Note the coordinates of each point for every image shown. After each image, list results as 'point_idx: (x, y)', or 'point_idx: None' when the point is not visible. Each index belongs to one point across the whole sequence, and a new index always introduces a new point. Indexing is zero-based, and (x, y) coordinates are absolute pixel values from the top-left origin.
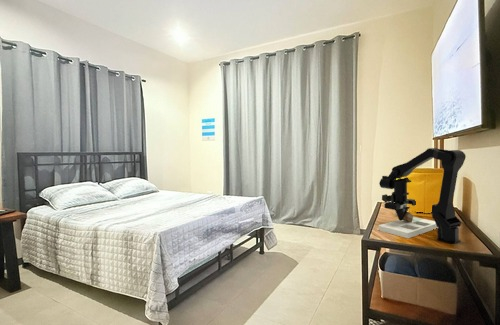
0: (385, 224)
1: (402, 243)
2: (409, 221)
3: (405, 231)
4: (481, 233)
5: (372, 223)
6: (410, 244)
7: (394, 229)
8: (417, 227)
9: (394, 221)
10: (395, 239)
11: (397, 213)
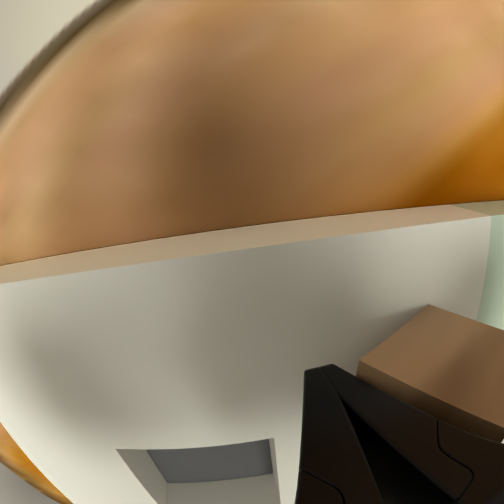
0: (4, 316)
1: (22, 476)
2: None
3: (82, 499)
4: None
5: (100, 3)
6: (52, 495)
7: (23, 449)
8: (279, 491)
9: (271, 271)
10: (10, 446)
11: (297, 500)
